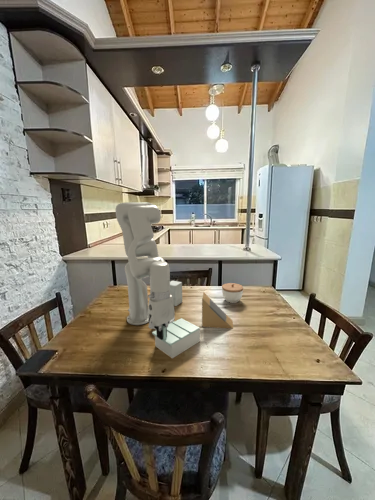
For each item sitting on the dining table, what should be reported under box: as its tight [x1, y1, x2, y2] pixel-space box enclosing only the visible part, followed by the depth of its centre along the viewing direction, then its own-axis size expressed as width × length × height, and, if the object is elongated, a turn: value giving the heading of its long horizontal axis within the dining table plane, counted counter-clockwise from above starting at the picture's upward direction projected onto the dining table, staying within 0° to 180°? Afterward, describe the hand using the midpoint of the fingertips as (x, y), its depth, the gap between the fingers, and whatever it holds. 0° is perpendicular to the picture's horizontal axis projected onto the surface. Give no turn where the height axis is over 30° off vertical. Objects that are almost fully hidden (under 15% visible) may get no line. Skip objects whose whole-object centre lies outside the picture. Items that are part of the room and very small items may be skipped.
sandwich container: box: [201, 291, 234, 330], centre depth 114 cm, size 9×15×15 cm, turn 82°
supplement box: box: [170, 280, 183, 307], centre depth 138 cm, size 7×7×13 cm
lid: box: [151, 317, 201, 346], centre depth 97 cm, size 12×17×6 cm
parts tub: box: [154, 328, 201, 359], centre depth 99 cm, size 11×16×6 cm
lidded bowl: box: [221, 282, 244, 304], centre depth 141 cm, size 13×13×11 cm
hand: (161, 336), depth 92 cm, fingers closed
